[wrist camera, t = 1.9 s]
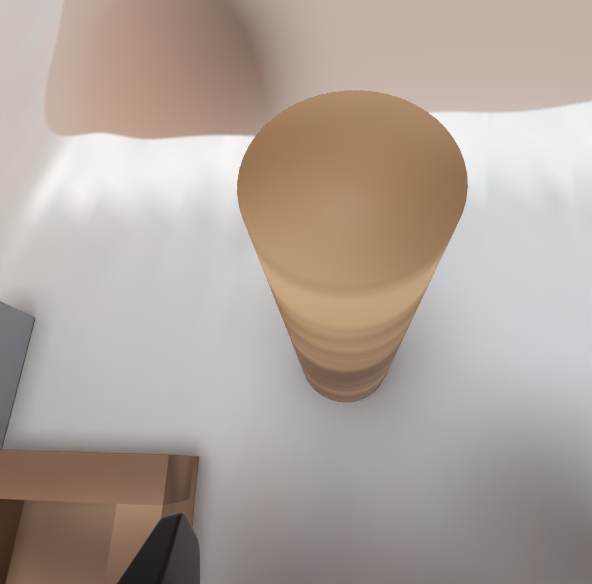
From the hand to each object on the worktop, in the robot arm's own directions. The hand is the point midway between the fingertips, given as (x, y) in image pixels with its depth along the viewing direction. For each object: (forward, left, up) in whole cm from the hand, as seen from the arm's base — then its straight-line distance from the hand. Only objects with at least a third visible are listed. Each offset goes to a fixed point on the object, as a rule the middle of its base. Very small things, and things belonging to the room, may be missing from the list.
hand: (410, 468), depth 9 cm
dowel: (+5, +1, -11) cm, 12 cm away
